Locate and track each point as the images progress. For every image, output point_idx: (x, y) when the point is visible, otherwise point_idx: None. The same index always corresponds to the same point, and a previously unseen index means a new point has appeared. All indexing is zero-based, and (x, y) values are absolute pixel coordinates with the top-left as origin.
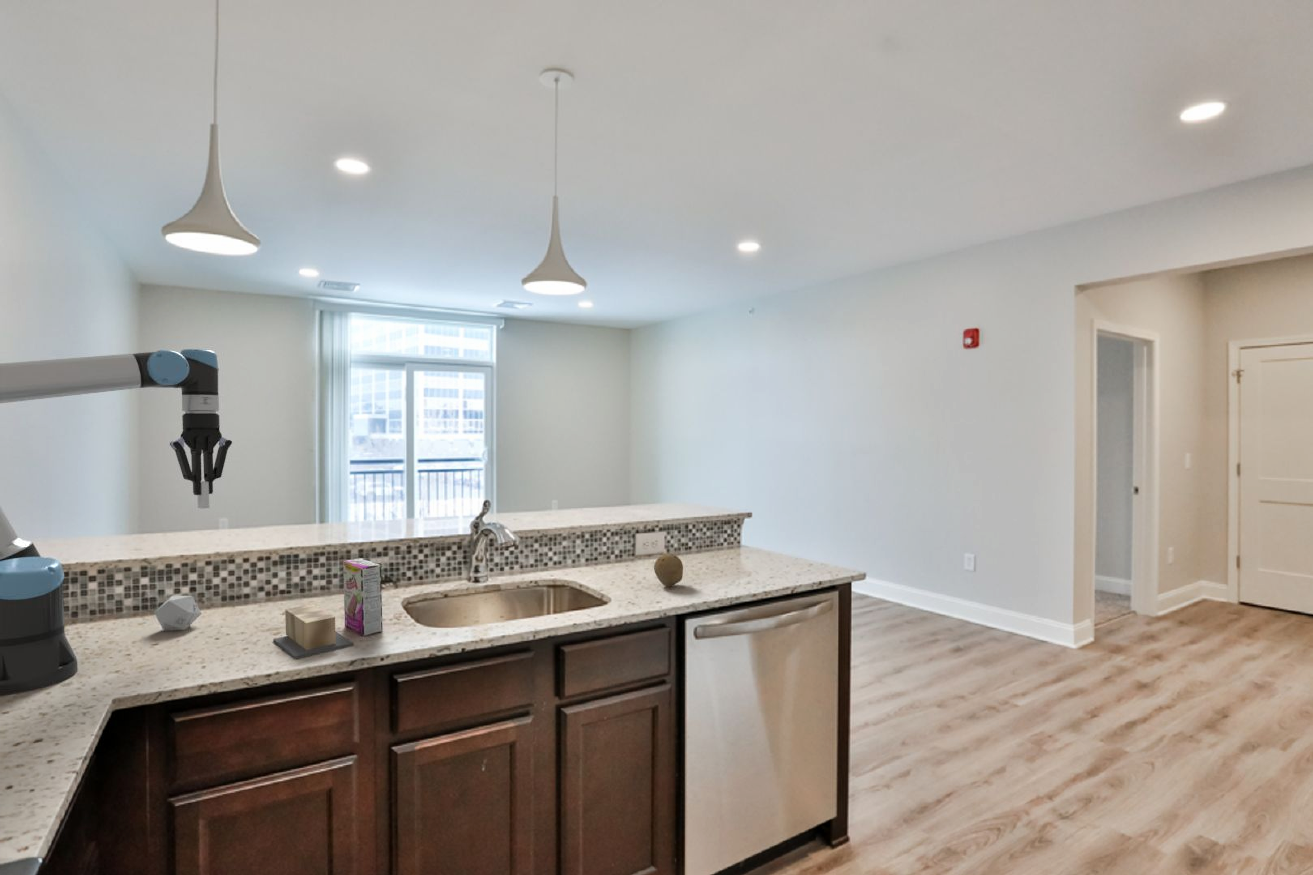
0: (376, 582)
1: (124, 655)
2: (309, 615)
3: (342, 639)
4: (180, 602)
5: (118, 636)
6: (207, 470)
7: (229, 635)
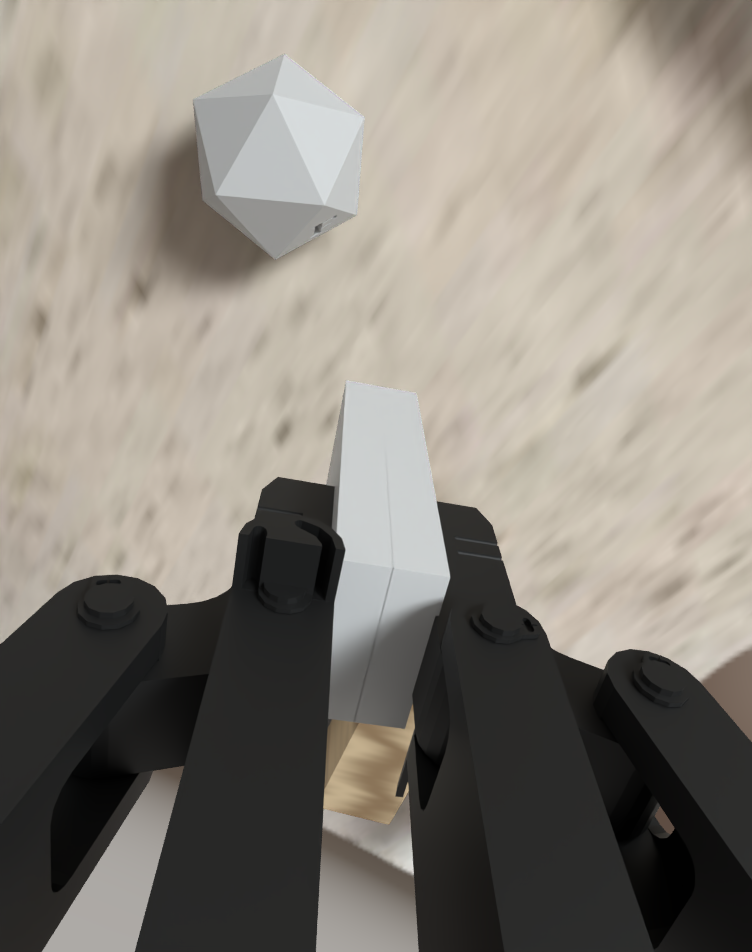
0: None
1: (28, 317)
2: (370, 767)
3: None
4: (261, 217)
5: (95, 5)
6: (417, 910)
7: (322, 437)
